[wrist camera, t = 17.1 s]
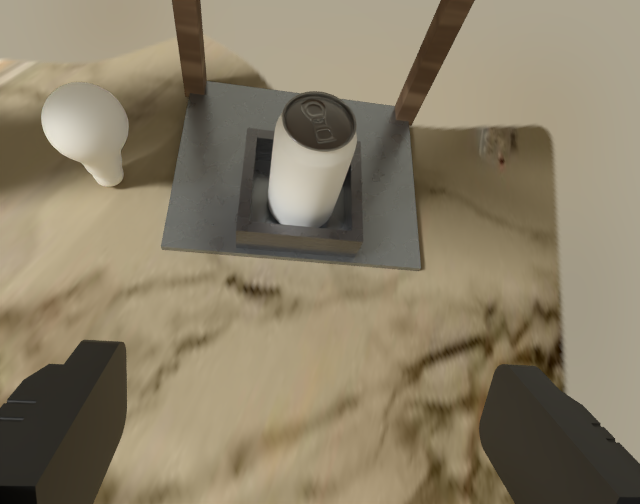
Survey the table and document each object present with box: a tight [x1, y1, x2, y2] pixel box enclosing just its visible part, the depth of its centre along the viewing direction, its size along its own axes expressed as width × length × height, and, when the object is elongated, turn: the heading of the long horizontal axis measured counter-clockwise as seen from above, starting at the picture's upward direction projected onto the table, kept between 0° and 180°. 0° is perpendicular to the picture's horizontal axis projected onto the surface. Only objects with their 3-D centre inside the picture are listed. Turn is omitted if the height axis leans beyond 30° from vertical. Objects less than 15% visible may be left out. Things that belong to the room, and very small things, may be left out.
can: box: [268, 92, 357, 228], centre depth 39 cm, size 6×6×12 cm
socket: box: [161, 81, 421, 271], centre depth 45 cm, size 20×24×4 cm
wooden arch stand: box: [172, 0, 475, 126], centre depth 36 cm, size 16×25×28 cm, turn 89°
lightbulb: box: [41, 82, 129, 187], centre depth 38 cm, size 6×6×11 cm
